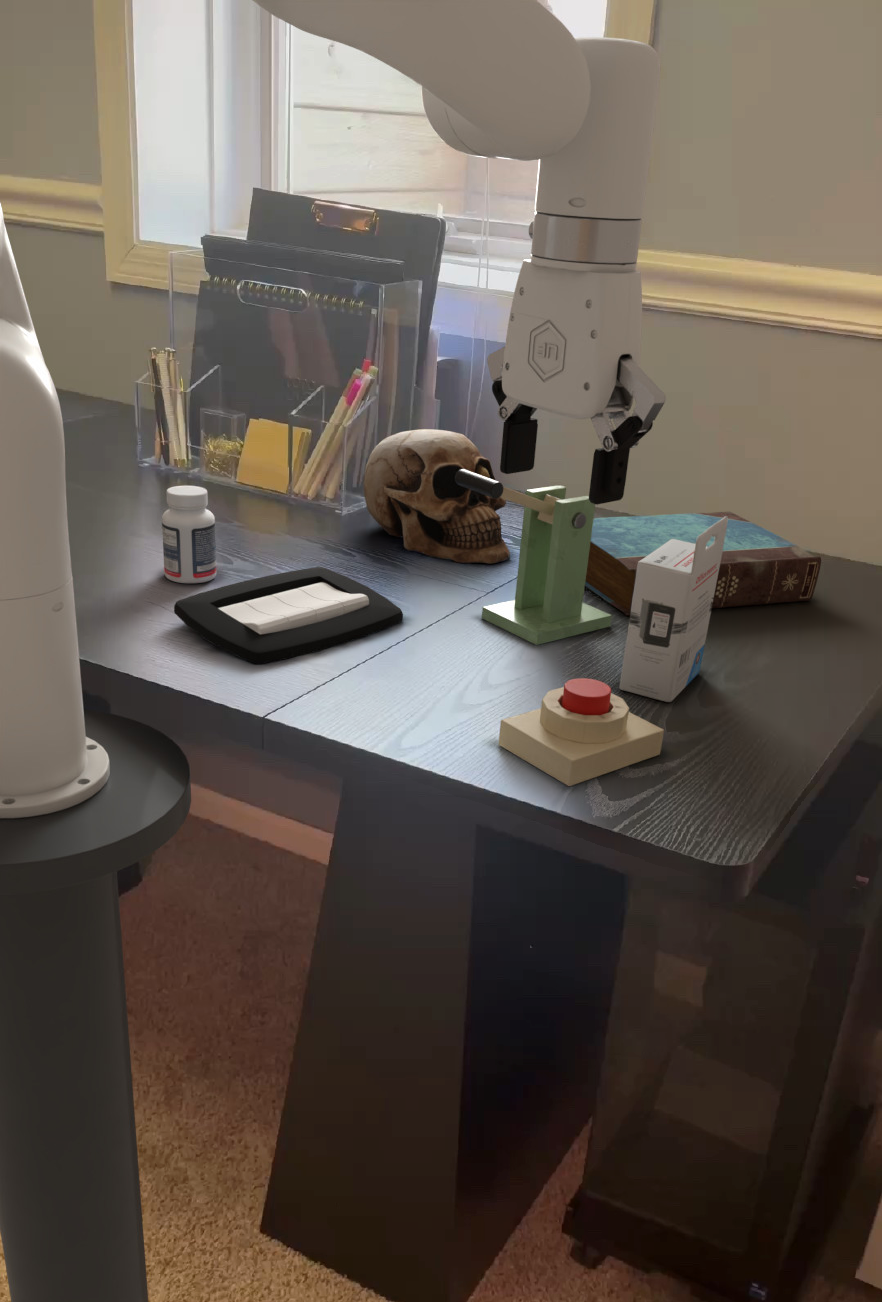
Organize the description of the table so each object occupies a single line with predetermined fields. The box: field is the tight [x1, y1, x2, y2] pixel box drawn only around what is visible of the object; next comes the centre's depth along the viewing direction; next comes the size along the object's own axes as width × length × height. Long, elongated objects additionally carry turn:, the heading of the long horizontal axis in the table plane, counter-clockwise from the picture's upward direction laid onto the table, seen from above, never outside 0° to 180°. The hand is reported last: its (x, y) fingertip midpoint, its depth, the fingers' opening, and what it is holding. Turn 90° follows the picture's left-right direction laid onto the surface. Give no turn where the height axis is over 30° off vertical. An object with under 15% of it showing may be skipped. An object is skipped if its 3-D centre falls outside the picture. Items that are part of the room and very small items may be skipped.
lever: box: [455, 469, 561, 524], centre depth 109 cm, size 13×5×2 cm, turn 129°
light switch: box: [173, 566, 404, 665], centre depth 113 cm, size 20×3×14 cm
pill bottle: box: [161, 485, 218, 584], centre depth 121 cm, size 5×5×9 cm
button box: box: [498, 686, 665, 787], centre depth 93 cm, size 10×8×4 cm
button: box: [562, 677, 612, 715], centre depth 91 cm, size 4×4×2 cm
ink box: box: [619, 516, 728, 703], centre depth 103 cm, size 9×5×15 cm, turn 151°
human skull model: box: [363, 428, 511, 565], centre depth 137 cm, size 16×17×13 cm
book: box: [585, 511, 822, 616], centre depth 131 cm, size 23×18×5 cm
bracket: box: [481, 484, 613, 646], centre depth 115 cm, size 10×8×13 cm
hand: (559, 485), depth 92 cm, fingers open, 9 cm apart
